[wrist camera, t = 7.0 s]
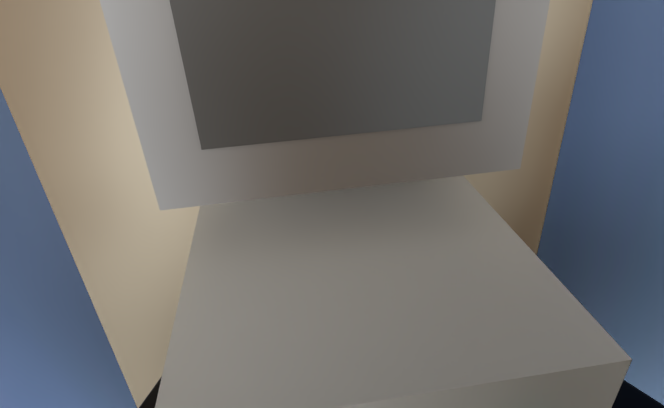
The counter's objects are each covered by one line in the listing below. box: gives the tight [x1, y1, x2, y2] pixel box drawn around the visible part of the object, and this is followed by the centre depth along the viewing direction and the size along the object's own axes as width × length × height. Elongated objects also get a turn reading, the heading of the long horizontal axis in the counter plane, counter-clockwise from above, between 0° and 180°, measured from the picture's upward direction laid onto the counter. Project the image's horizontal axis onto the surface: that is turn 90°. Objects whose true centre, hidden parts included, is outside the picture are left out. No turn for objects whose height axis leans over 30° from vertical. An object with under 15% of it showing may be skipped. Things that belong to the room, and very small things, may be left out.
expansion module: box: [155, 175, 632, 408], centre depth 8 cm, size 5×6×6 cm
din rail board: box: [0, 0, 593, 408], centre depth 10 cm, size 12×22×6 cm, turn 3°
